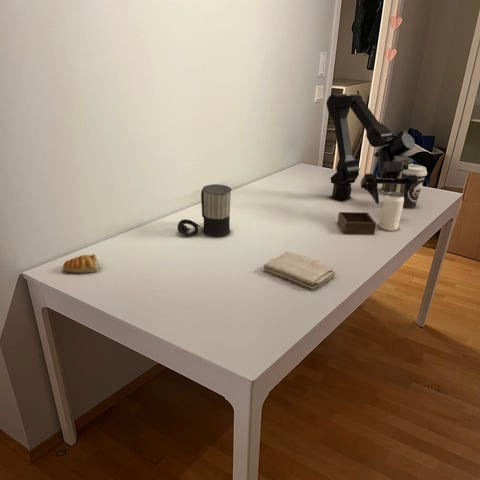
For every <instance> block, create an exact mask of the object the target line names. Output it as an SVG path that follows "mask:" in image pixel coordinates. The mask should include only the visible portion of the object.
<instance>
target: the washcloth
mask: <svg viewBox="0 0 480 480" xmlns="http://www.w3.org/2000/svg"><path fill="white" fill-rule="evenodd" d="M262 267H263V268H262V269H263V270H264V271H266V272H268V273H270V274H272V275H276V276H278V277H281V278H283V279H287V280H289V281H292V282H294V283H295V284H298V285H300V286H302V287H306V288H309V289H310V290H312V291H313V290H316V289H317V288H318V287H321V286H323V285H324V284H325V283H326V282H328V281H330V280H331V279H333V278H334V277H335V276H336V271H335V270H333V269H334V267H333V266H329V265H326V264H324V263H322V261H321V260H318V259H314V258H310V257H308V256H305V255H301V254H299V253H295V252H292V251H285V252H284V253H282V254H280V255H279V256H278V257H277V258H274V259H271V260H270V261H268V262H266V263H264V264H263V266H262Z"/></svg>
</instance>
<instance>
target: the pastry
mask: <svg viewBox="0 0 480 480" xmlns="http://www.w3.org/2000/svg"><path fill="white" fill-rule="evenodd" d="M62 268H63V270H64V271H66V272H68V273H72V274H74V273H75V274H87V273H90V274H92V273H95V272H98V271H99V261H98V259H97V255H96V254H95V253H93V254H82V255H81V254H80V255H79V256H76V257H74V258H70V259H68V260H66V261H65V262H64V263H63V265H62Z"/></svg>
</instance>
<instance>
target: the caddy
mask: <svg viewBox="0 0 480 480" xmlns="http://www.w3.org/2000/svg"><path fill="white" fill-rule="evenodd" d="M337 224H338V226H339V228H340V229H341V231H342V233H343V234H344V235H375V232H376V226H377V223H376V221H375V220H374V219H373V217H372V216H371V214H370V213H369V212H357V211H356V212H355V211H353V212H352V211H347V212H346V211H338V215H337Z"/></svg>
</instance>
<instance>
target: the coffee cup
mask: <svg viewBox="0 0 480 480" xmlns="http://www.w3.org/2000/svg"><path fill="white" fill-rule="evenodd" d="M406 175H417V176H418V183H417V184H416V185H415V186H414V187H413V188H412V189H410V190H409V191H408V194H407V198H406V201H405V204H404V205H403V208H404V209H415V208H416V205H417V202H418V199H419V196H420V193H421V190H422V187H423V184H424V181H425V178H426V176H427V175H428V171H427V167H425V166H423V165H420V164H412V165H409V168H408V169H407V170H403V172H402V178H404V177H405V176H406ZM401 189H402V187H400V193H401ZM403 208H402V209H403Z"/></svg>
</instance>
